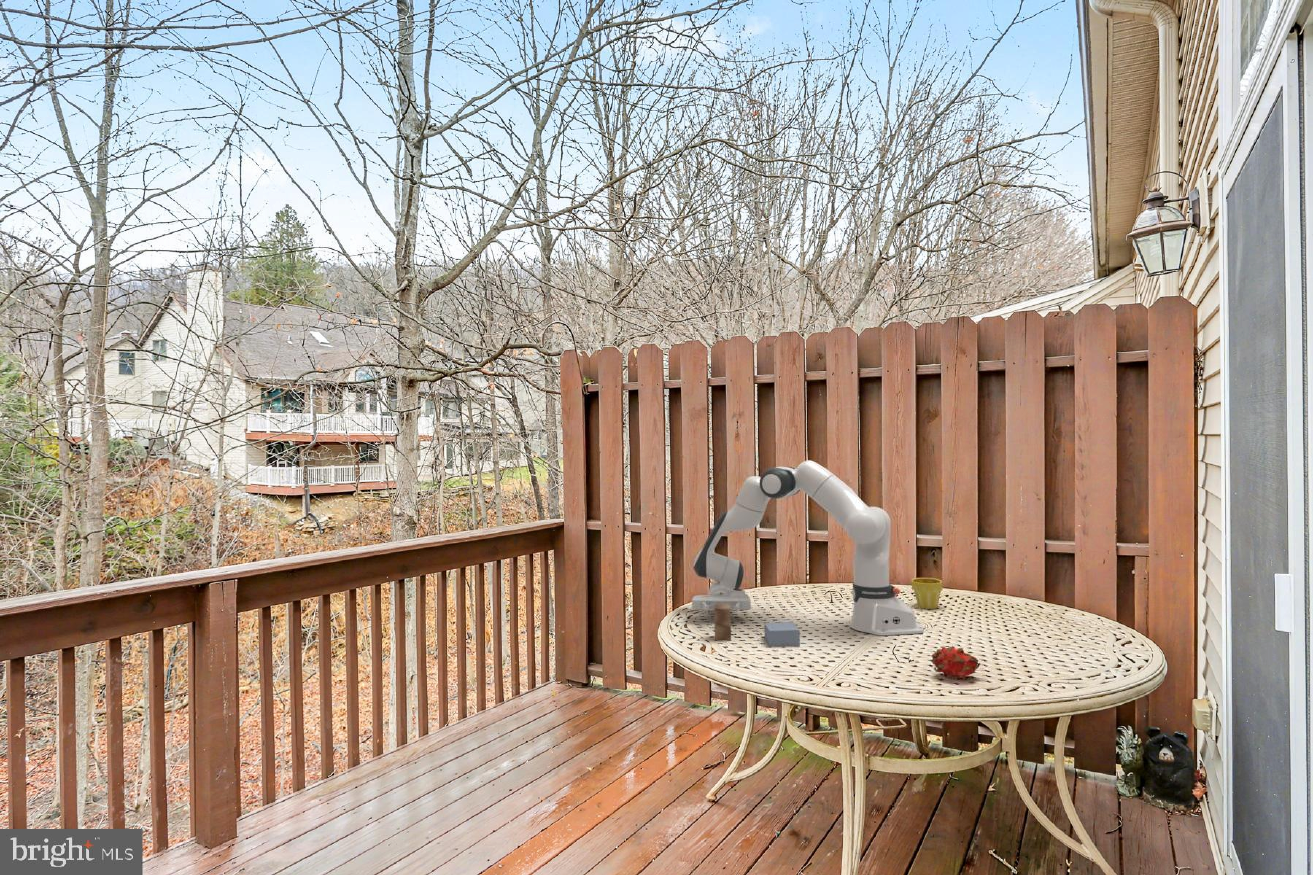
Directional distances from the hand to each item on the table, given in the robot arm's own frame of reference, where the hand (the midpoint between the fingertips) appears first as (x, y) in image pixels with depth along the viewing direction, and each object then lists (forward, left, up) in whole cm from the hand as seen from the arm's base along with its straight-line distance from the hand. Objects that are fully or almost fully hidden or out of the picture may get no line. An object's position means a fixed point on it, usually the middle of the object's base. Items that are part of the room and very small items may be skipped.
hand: (721, 608), depth 214 cm
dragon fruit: (-59, +45, -7) cm, 75 cm away
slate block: (-18, +16, -7) cm, 25 cm away
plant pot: (-75, -27, -6) cm, 80 cm away
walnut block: (0, +12, -6) cm, 14 cm away
